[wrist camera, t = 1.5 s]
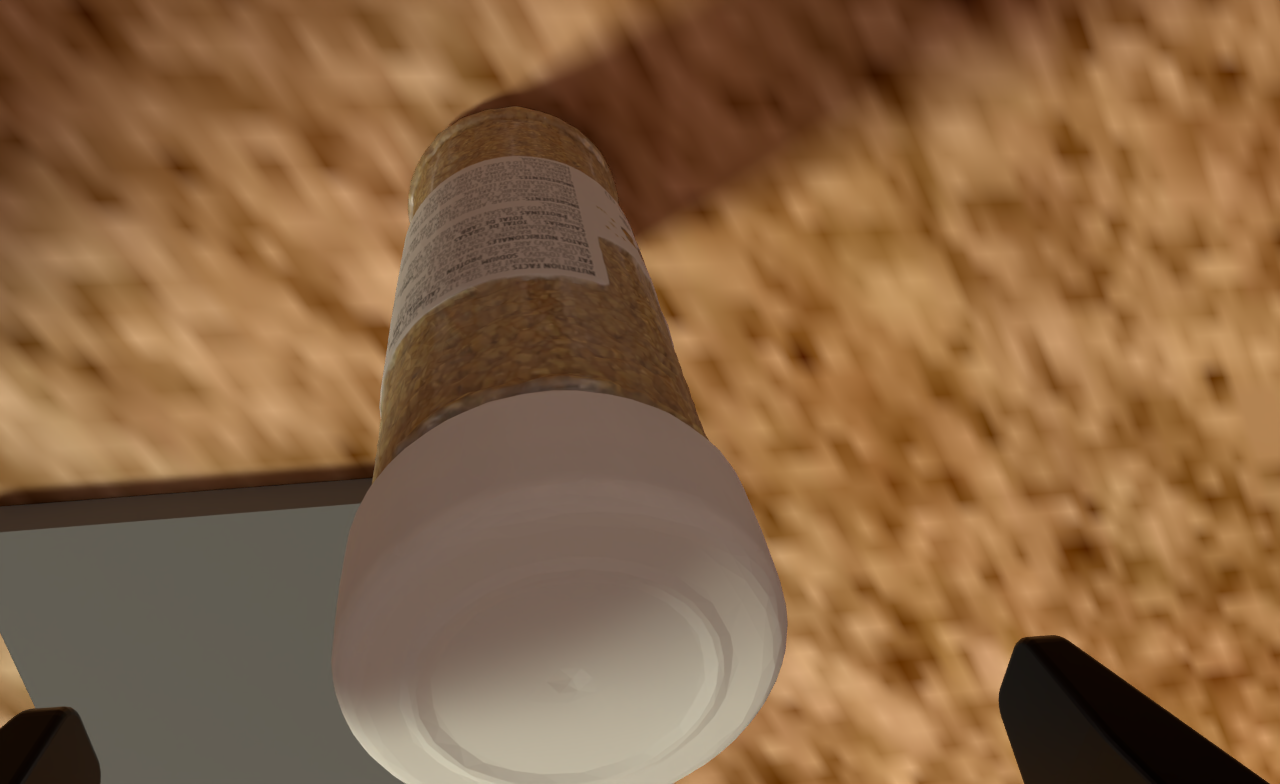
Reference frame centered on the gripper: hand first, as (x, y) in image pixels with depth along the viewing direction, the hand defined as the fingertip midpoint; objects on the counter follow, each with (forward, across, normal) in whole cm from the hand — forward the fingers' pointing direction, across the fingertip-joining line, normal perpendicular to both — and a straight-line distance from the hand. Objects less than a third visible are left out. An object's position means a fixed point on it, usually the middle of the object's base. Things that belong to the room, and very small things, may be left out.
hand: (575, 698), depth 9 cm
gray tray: (+13, +5, +13) cm, 19 cm away
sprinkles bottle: (+14, 0, 0) cm, 14 cm away
